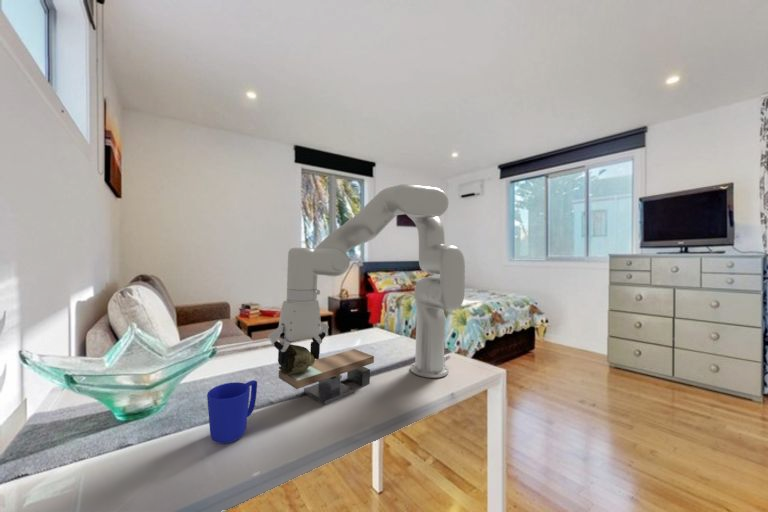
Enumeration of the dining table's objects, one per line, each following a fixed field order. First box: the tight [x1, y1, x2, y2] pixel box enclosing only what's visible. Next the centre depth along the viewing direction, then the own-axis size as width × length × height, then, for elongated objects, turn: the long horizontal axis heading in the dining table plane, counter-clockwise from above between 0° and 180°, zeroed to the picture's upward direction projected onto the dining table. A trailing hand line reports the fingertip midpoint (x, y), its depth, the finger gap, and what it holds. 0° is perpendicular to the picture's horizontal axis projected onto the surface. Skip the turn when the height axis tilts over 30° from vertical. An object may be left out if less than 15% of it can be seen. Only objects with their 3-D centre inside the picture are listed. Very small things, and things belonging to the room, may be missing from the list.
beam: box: [278, 348, 375, 390], centre depth 89 cm, size 26×10×3 cm, turn 136°
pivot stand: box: [303, 366, 371, 405], centre depth 92 cm, size 18×10×5 cm, turn 136°
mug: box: [206, 379, 258, 444], centre depth 70 cm, size 8×12×10 cm
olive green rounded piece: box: [278, 343, 316, 375], centre depth 82 cm, size 8×7×8 cm
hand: (299, 361), depth 82 cm, fingers closed on olive green rounded piece, 8 cm apart
